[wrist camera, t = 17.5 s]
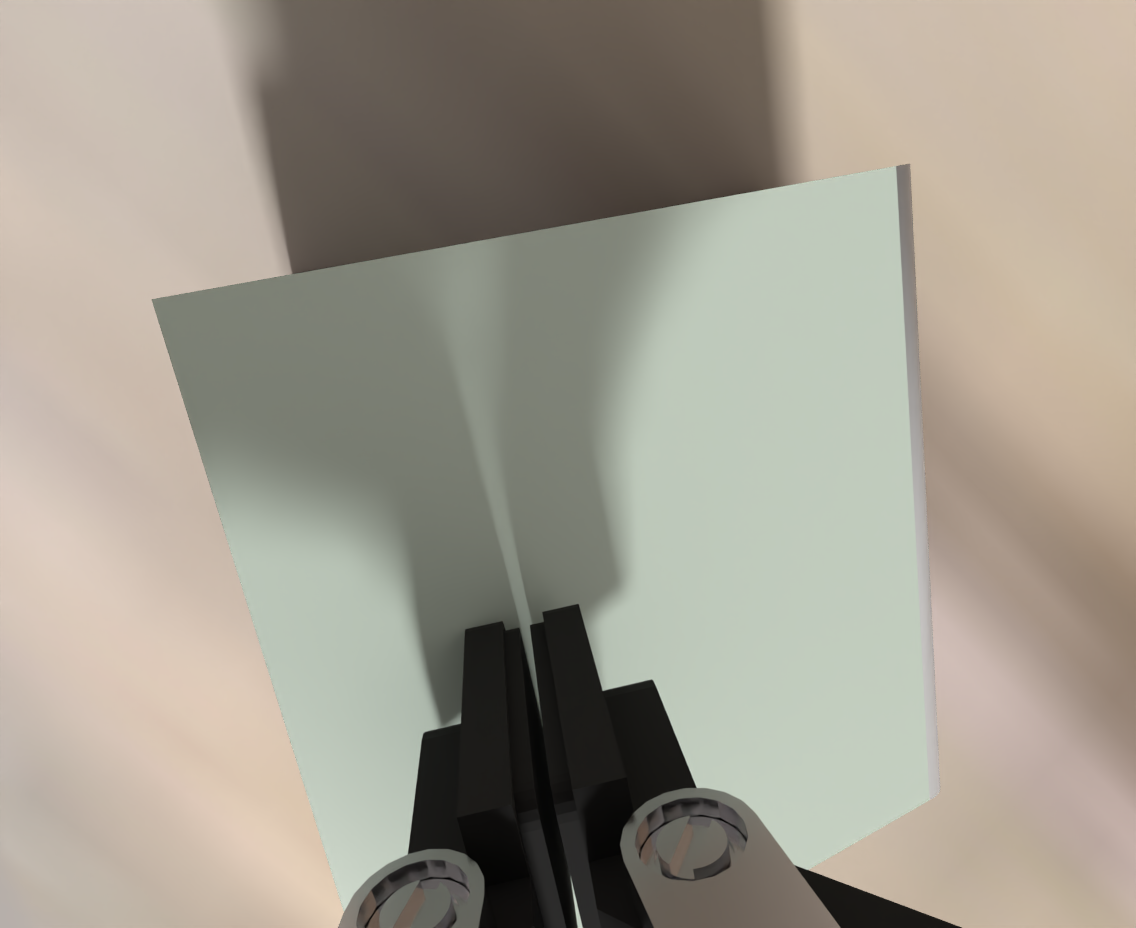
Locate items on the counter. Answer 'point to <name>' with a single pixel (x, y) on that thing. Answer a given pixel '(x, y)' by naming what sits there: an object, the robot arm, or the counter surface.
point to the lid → (592, 495)
